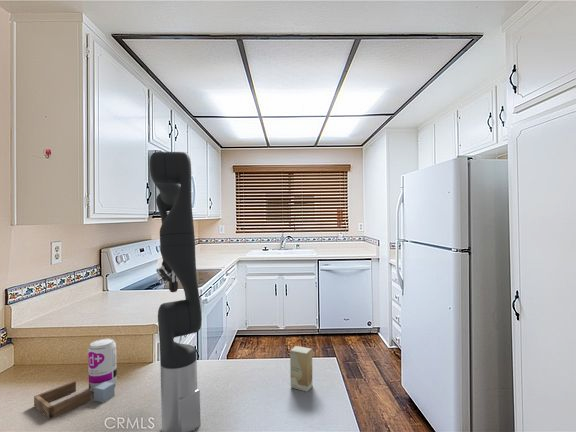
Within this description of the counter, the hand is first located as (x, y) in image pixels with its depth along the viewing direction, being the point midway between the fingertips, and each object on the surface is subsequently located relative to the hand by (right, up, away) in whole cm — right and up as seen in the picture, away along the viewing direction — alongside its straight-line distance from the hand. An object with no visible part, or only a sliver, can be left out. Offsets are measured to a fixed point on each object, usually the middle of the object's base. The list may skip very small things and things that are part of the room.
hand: (173, 291), depth 119 cm
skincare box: (+48, -27, -16) cm, 57 cm away
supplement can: (-20, -30, -12) cm, 37 cm away
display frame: (-27, -30, -21) cm, 45 cm away
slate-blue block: (-15, -29, -19) cm, 38 cm away
